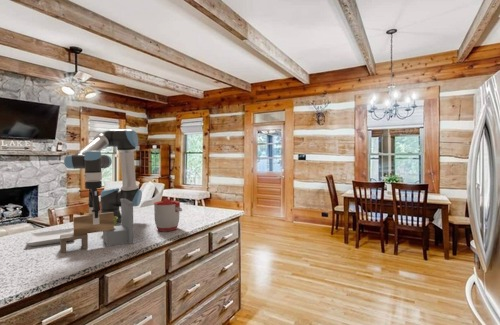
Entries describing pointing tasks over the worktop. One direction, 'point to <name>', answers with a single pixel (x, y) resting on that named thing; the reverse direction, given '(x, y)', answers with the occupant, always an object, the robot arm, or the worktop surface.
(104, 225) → the wooden board
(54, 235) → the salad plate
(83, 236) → the trestle
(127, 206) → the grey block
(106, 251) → the worktop surface
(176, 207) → the citrus juicer
